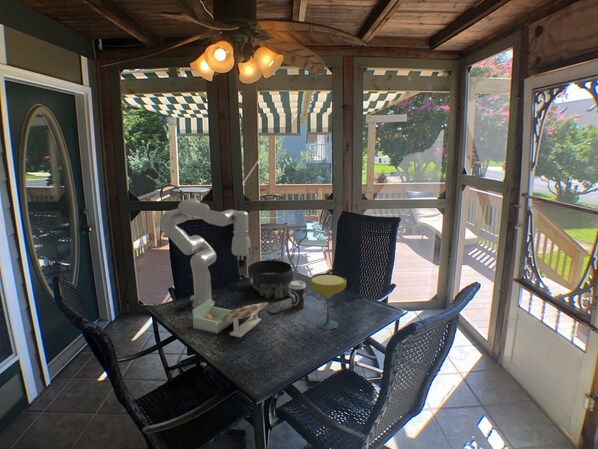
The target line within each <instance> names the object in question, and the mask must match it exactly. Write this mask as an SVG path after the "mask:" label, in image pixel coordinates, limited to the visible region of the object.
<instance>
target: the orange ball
mask: <svg viewBox="0 0 598 449" xmlns="http://www.w3.org/2000/svg"><path fill="white" fill-rule="evenodd" d="M204 319H207V320H212V316H211V315H209V314H208V315H206V316H205V317H204Z"/></svg>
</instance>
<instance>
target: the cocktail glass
mask: <svg viewBox="0 0 598 449" xmlns="http://www.w3.org/2000/svg"><path fill="white" fill-rule="evenodd" d="M309 284H310V285H309V286H310V287H311V289H312V290H313V291H315V292H317V293H319V294H321V295H323V296H324V297H325V298H326V299H327V300H326V302H327V307H326V310H327V311H326V312H327V313H326V319H322V320H320V321H318V322H317V324H316V325H317V328H319V329H321V330H324V329H325V331H332V330H331V329H333V330H335V329H334V328H336V329H337V328H338V327H339V323H338V322H337V321H335V320H332V319H330V317H329V314H330V313H329V312H330V310H329V306H330V305H329V303H330V301H329V299H330V298H331V297H332V296H333V295H335V294H336V295H337V294H338V293H341V292H342V291H344V290H345V289H346V287H347V279H346V277H345V276H344V275H341V274H339V273H338V274H337V273H334V272H333V273H331V272H330V273H329V272H323V273H317V274H314V275H312V276H311V277H310V280H309Z"/></svg>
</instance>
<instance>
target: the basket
mask: <svg viewBox="0 0 598 449" xmlns="http://www.w3.org/2000/svg"><path fill="white" fill-rule="evenodd" d="M247 270H248V271H247V273H248V280H249V283H250V285H251V286H252V288H254V290H256V291H257V292H258V293H259V295H260V297H264V298H265V299H271V298H273V297H274V298H273V299H274V300H281V299H286V297H287V298H289V297H290V298H291V294H290V288H289V285H290V283H291V282H292V281H294V271H293V266H292V265H291V264H290V263H289V262H286V261H282V260H275V259H262V260H258V261H256V262H253V263H251V264H249V266H248V268H247Z"/></svg>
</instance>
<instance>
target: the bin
mask: <svg viewBox="0 0 598 449" xmlns="http://www.w3.org/2000/svg"><path fill="white" fill-rule="evenodd" d="M212 300H213V299H210V300H208V301H206V302H205V303H203V304H201V305H200V306H198V307H196V308H193V309H192V310H191V311H192V324H193V329H196V330H201V331H204V332H208V333H212V334H219V333H220V332H222V331H223V330H224V329H226V328H227V327H229V326H230V325H231V324H233V320H230V321H225V322H222V315H227V314H229V312H228V311H231V310H232V309H228V308H227V309H226V308H222V307H217V306H214V305H213V306H212ZM208 314H209V315H211V316H212V320H207V319H204V317H205V316H206V315H208Z"/></svg>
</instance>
